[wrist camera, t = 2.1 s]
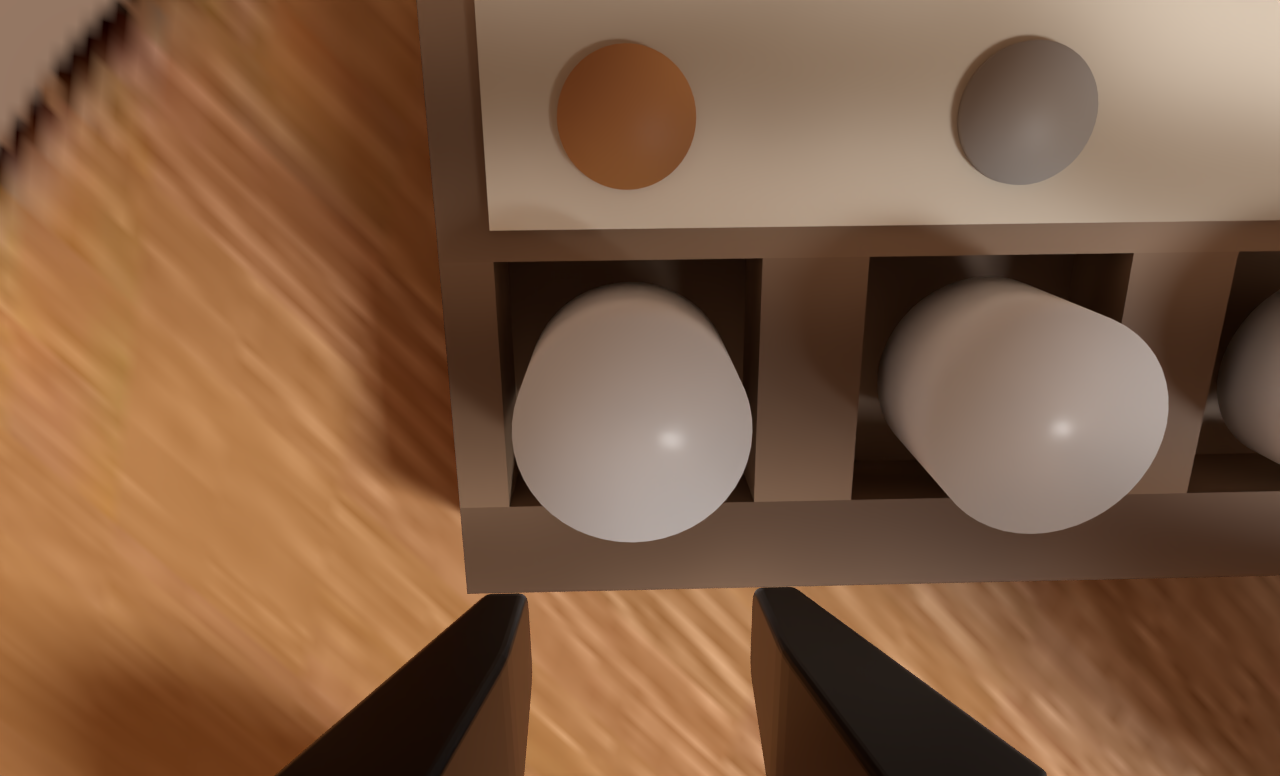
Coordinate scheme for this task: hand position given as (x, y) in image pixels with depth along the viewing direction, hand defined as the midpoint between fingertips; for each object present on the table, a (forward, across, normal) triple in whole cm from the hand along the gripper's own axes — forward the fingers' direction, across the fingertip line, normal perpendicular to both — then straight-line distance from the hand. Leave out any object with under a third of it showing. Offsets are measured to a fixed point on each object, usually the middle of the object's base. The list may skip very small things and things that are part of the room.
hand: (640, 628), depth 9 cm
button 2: (+8, 0, 0) cm, 8 cm away
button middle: (+9, -7, 0) cm, 11 cm away
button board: (+11, -7, -2) cm, 13 cm away
